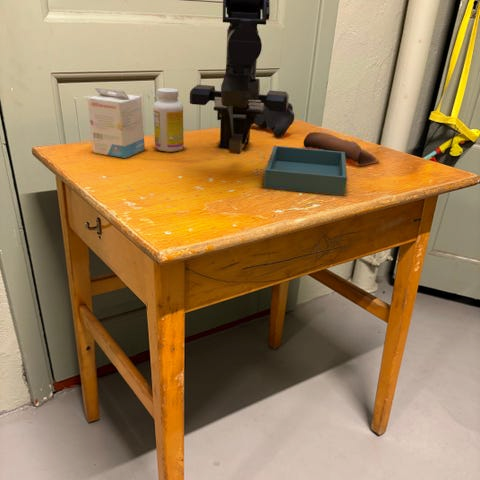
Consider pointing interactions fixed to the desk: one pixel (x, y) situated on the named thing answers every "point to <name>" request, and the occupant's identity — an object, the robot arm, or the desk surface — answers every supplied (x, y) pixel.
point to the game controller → (275, 120)
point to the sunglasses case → (339, 147)
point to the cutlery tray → (306, 170)
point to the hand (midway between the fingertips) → (237, 143)
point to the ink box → (116, 123)
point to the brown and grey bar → (236, 144)
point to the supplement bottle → (168, 121)
